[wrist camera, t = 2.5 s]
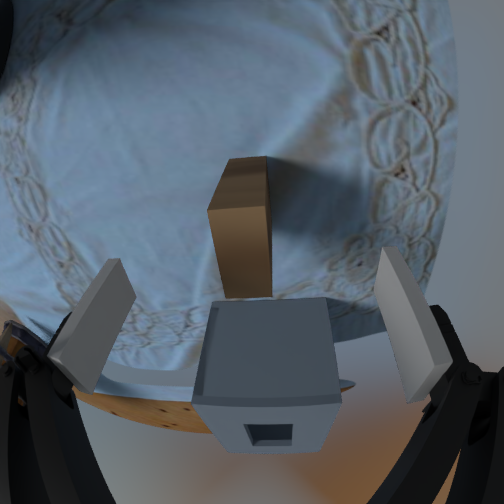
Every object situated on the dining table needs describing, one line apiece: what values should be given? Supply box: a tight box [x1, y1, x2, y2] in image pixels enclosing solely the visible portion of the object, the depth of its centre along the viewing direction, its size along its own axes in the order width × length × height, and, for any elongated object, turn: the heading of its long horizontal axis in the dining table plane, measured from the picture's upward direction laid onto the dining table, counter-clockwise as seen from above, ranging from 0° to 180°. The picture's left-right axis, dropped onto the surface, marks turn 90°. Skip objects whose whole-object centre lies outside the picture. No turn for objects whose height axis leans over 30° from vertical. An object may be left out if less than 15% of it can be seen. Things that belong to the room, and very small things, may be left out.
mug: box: [0, 320, 47, 406], centre depth 30 cm, size 19×14×20 cm
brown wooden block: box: [207, 156, 272, 298], centre depth 17 cm, size 6×3×8 cm, turn 6°
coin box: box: [191, 298, 342, 454], centre depth 27 cm, size 16×11×11 cm
